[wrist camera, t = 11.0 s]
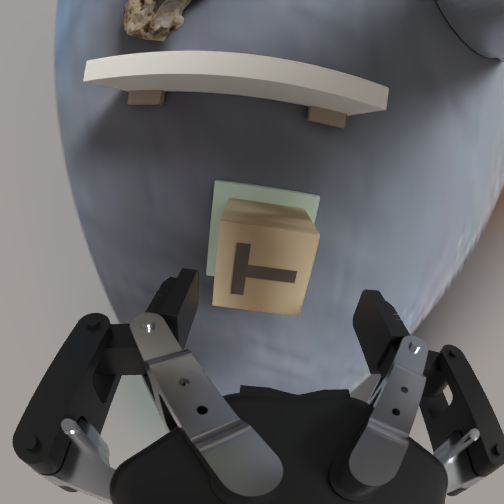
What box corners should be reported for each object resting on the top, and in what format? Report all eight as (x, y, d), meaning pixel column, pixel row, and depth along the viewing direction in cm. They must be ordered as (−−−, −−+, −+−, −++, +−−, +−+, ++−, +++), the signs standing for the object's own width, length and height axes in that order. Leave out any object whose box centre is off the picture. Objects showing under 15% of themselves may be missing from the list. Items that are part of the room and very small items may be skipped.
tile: (318, 195, 18) (320, 196, 18) (297, 283, 21) (298, 287, 20) (216, 179, 18) (214, 181, 17) (207, 271, 21) (206, 275, 20)
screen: (351, 86, 15) (390, 70, 9) (345, 129, 16) (383, 129, 11) (135, 64, 14) (90, 44, 9) (128, 105, 16) (80, 99, 10)
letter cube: (304, 208, 18) (320, 235, 13) (289, 275, 20) (298, 317, 15) (229, 197, 18) (219, 221, 13) (222, 266, 20) (212, 306, 15)
